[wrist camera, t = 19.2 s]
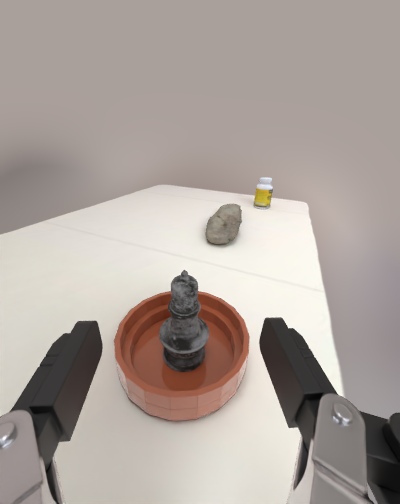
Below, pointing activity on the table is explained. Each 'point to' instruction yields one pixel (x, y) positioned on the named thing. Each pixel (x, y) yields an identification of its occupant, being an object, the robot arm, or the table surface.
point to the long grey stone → (224, 224)
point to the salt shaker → (184, 327)
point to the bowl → (173, 382)
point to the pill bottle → (263, 193)
